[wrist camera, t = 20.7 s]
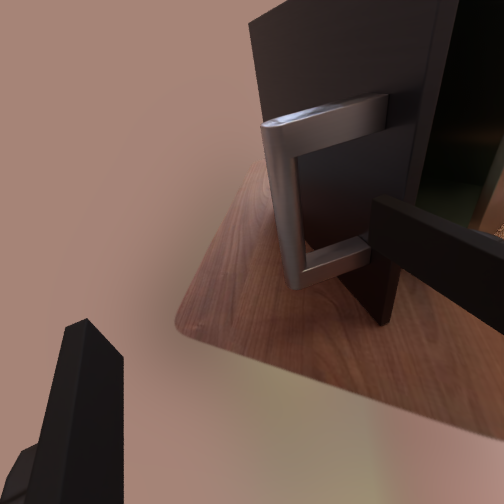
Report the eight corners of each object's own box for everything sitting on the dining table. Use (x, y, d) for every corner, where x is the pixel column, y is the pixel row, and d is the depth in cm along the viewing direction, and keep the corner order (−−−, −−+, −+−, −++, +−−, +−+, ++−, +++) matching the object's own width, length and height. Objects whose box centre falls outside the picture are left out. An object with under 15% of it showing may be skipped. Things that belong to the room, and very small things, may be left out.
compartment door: (307, 355, 22) (259, -62, 8) (236, 219, 42) (187, 37, 28) (390, 322, 23) (483, -106, 8) (281, 205, 43) (256, 21, 29)
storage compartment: (460, 273, 25) (622, -122, 11) (282, 205, 43) (257, 19, 29) (525, 197, 32) (675, -103, 18) (349, 165, 50) (355, 1, 36)
